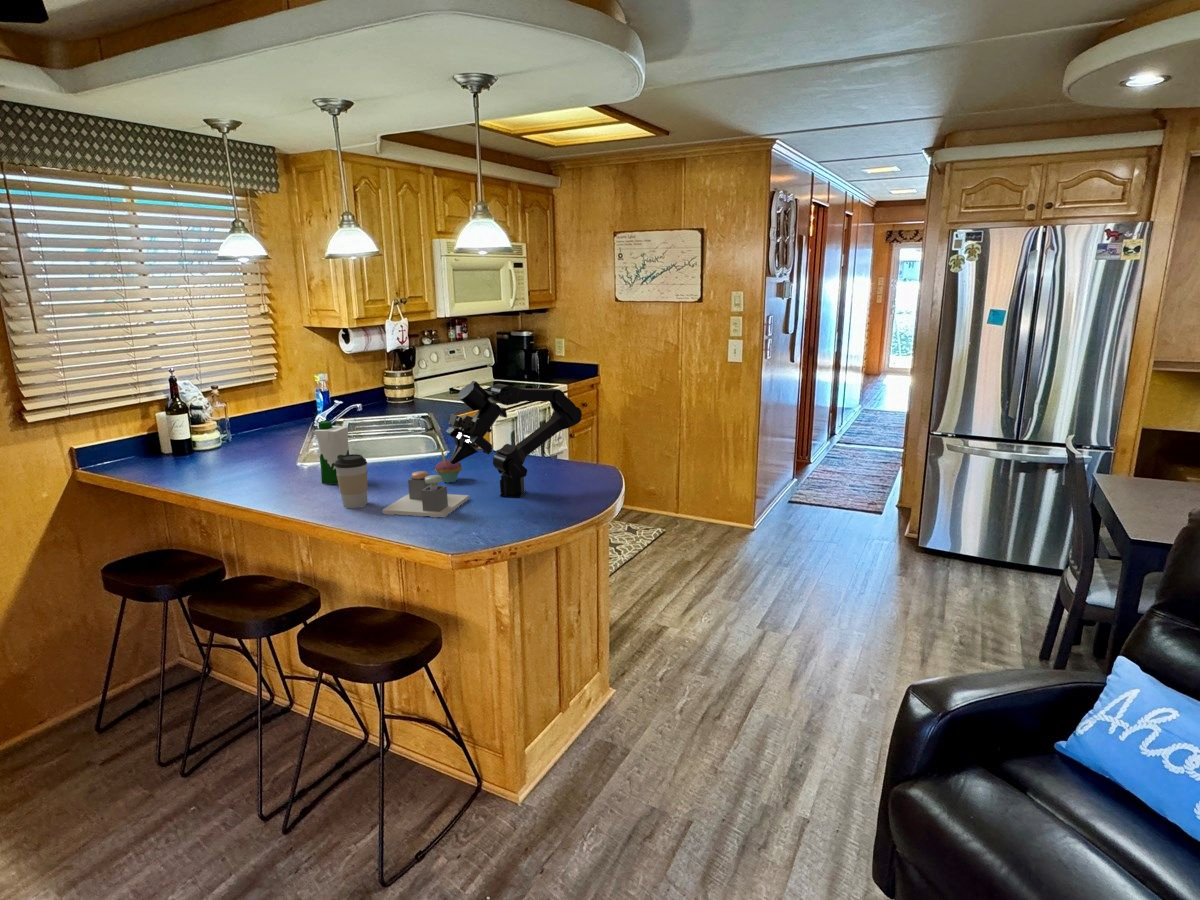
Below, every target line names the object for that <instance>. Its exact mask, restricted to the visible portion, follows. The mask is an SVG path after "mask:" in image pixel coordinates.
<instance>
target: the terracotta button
mask: <svg viewBox="0 0 1200 900" xmlns="http://www.w3.org/2000/svg"><path fill="white" fill-rule="evenodd" d="M427 476H429V473H428V471H425V470H420V471H414V472H412V473H411V478H413V479H417V480H424V479H425V477H427Z"/></svg>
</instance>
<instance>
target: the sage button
mask: <svg viewBox="0 0 1200 900" xmlns="http://www.w3.org/2000/svg"><path fill="white" fill-rule="evenodd" d="M425 483H428V484H430V490H435V491H438V486H439V485H438V484H439V483H442V476H440V475H439V474H432V475H428V476H427V477H425ZM437 485H438V486H437Z"/></svg>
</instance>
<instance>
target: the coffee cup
mask: <svg viewBox="0 0 1200 900" xmlns="http://www.w3.org/2000/svg"><path fill="white" fill-rule="evenodd" d="M367 464H368V461H367V459H366V458H365V457H364V456H363V455H362V454H357V453H356V454H355V453H354V454H353V453H351V454H350V453H349V455H344V456H340V457H339V458H338V460H337V461H336V462H335V467H336V471H337V479H338V484H337V485H338V488H339V494H340V496H341V501H342V507H343V508H345V507H348V508H347V509H357V508H356V507H359V508H362V507H361V506H363V507H365V506H367V505H368V489H369V487H368V485H369V484H368V470H367V468H368V467H367V466H368V465H367ZM366 504H367V505H366ZM364 505H365V506H364Z"/></svg>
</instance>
